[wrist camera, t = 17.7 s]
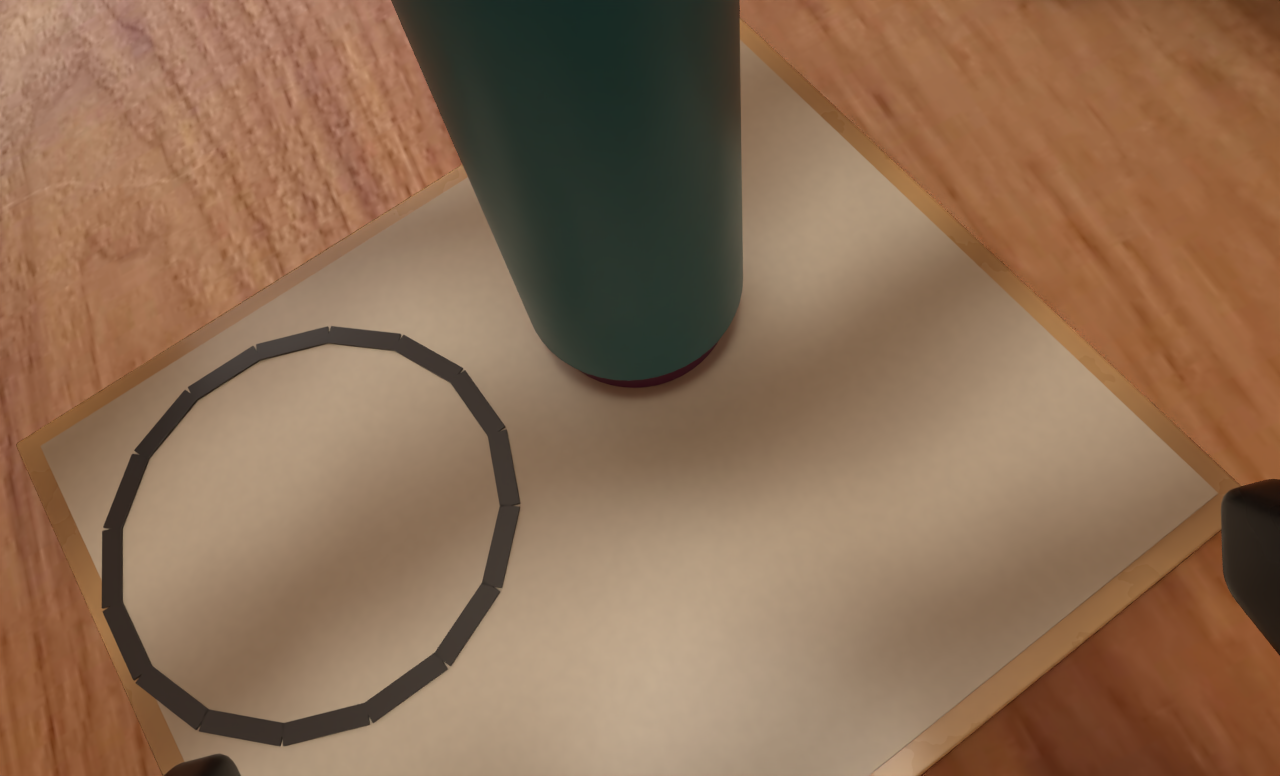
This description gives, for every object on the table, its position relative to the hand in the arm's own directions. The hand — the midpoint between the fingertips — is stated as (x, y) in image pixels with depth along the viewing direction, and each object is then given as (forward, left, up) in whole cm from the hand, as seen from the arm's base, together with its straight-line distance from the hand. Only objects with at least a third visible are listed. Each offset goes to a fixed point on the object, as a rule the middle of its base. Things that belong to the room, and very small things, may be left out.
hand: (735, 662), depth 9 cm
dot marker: (+8, -4, -9) cm, 13 cm away
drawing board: (+6, -1, -10) cm, 11 cm away
